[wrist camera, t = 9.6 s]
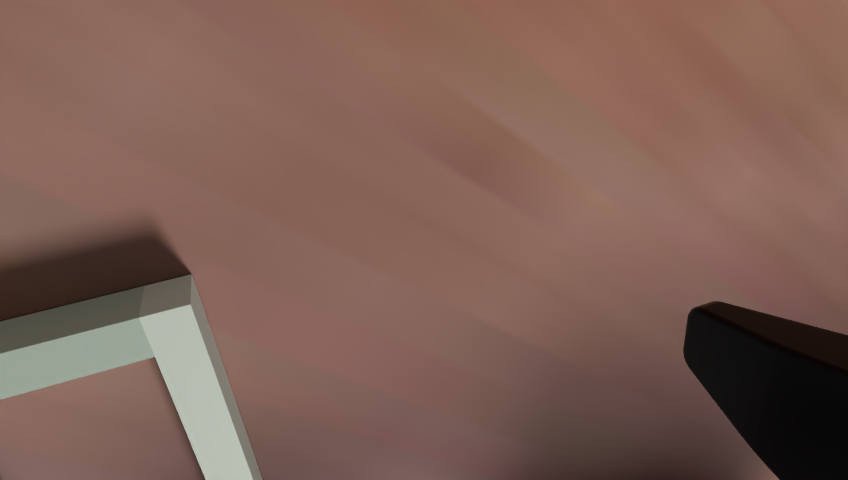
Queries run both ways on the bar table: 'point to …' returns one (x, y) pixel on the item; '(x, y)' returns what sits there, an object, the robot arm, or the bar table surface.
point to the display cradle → (131, 342)
